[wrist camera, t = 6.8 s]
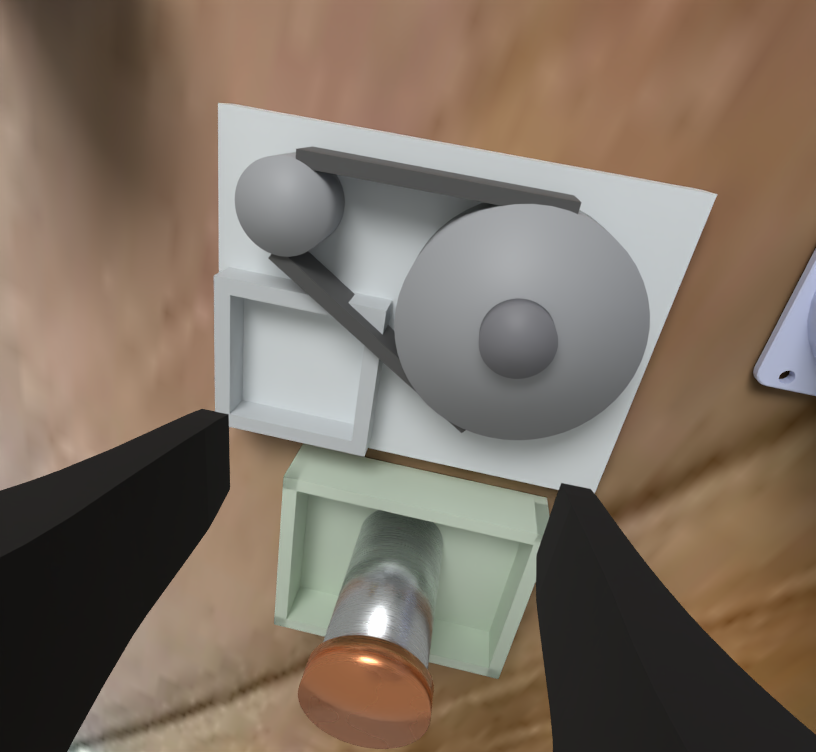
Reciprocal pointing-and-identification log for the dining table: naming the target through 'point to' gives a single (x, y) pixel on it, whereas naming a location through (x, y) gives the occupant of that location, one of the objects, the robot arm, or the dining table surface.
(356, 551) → the pin
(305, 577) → the tray
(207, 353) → the dining table surface
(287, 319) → the pulley board
